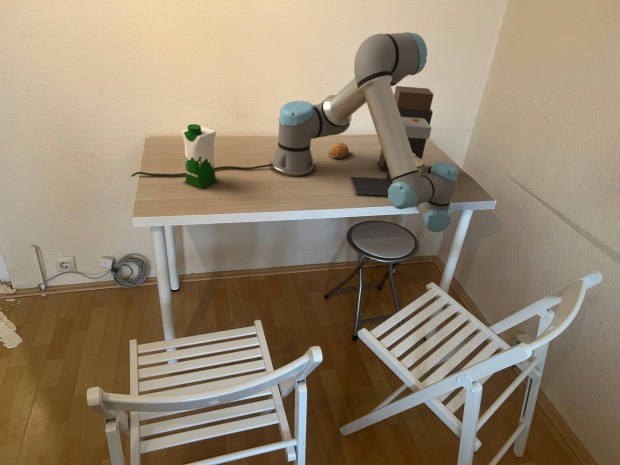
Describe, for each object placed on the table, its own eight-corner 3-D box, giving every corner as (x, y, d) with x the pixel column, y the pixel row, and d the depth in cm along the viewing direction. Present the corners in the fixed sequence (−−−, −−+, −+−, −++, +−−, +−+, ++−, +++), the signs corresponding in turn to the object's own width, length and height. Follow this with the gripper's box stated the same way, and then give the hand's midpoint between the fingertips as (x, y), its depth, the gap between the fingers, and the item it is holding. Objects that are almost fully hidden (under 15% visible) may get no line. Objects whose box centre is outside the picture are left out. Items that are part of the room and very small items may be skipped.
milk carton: (181, 182, 157) (178, 124, 147) (200, 173, 164) (198, 117, 153) (202, 190, 154) (199, 132, 143) (220, 181, 161) (219, 124, 150)
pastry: (343, 161, 184) (344, 152, 182) (326, 157, 185) (327, 148, 183) (349, 152, 191) (350, 143, 189) (333, 149, 193) (334, 140, 191)
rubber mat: (394, 197, 162) (394, 195, 162) (357, 195, 161) (357, 193, 161) (387, 180, 173) (387, 178, 173) (352, 178, 172) (352, 176, 172)
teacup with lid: (422, 189, 169) (429, 159, 163) (397, 189, 168) (404, 158, 161) (412, 174, 179) (418, 145, 173) (388, 174, 178) (394, 144, 171)
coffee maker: (424, 184, 173) (444, 103, 156) (387, 182, 171) (403, 100, 155) (413, 164, 187) (430, 88, 171) (378, 162, 186) (392, 85, 170)
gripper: (384, 205, 151) (374, 176, 169) (460, 210, 153) (442, 180, 171) (389, 184, 147) (377, 156, 164) (466, 189, 149) (447, 161, 167)
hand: (410, 168), depth 168 cm, fingers open, 13 cm apart
